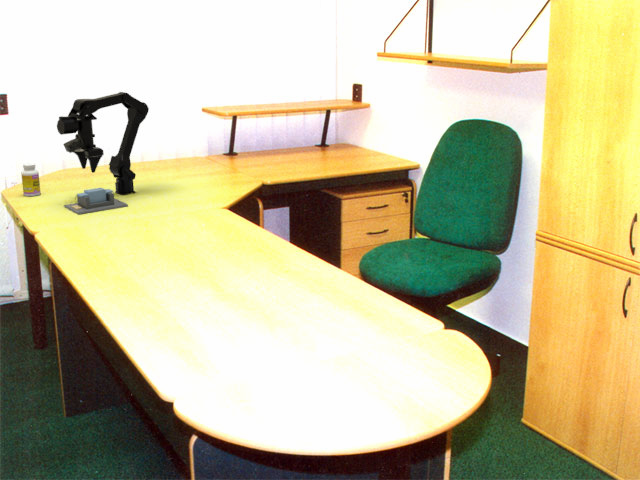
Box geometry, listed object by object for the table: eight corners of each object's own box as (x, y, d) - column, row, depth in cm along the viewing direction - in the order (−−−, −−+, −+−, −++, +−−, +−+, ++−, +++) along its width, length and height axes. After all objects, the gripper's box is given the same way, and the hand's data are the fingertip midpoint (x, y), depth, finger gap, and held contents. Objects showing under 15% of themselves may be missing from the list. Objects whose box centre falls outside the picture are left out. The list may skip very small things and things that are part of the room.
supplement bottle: (34, 197, 293) (31, 166, 289) (20, 196, 294) (16, 165, 290) (44, 193, 299) (40, 163, 296) (29, 192, 301) (26, 162, 297)
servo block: (109, 201, 285) (108, 186, 284) (113, 203, 283) (112, 188, 281) (77, 206, 277) (76, 191, 276) (82, 208, 275) (80, 193, 273)
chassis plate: (112, 199, 292) (111, 186, 290) (128, 206, 281) (127, 193, 280) (64, 207, 279) (63, 194, 278) (78, 214, 269) (77, 201, 267)
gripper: (56, 130, 284) (59, 169, 289) (74, 137, 271) (78, 177, 275) (83, 128, 291) (86, 165, 296) (102, 134, 278) (105, 173, 282)
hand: (88, 170), depth 287 cm, fingers open, 9 cm apart
